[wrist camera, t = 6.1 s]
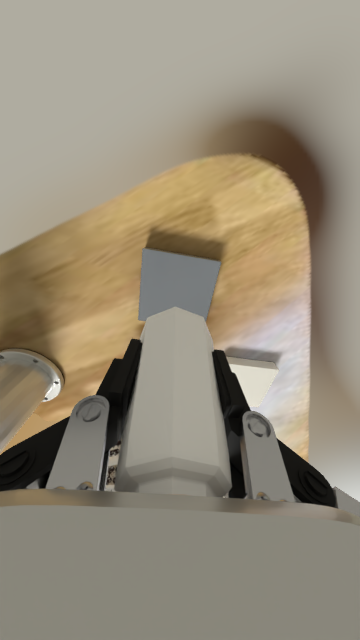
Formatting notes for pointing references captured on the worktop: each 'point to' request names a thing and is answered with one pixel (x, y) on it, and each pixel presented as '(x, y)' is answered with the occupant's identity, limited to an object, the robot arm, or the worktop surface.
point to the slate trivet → (176, 282)
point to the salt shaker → (175, 413)
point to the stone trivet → (253, 377)
